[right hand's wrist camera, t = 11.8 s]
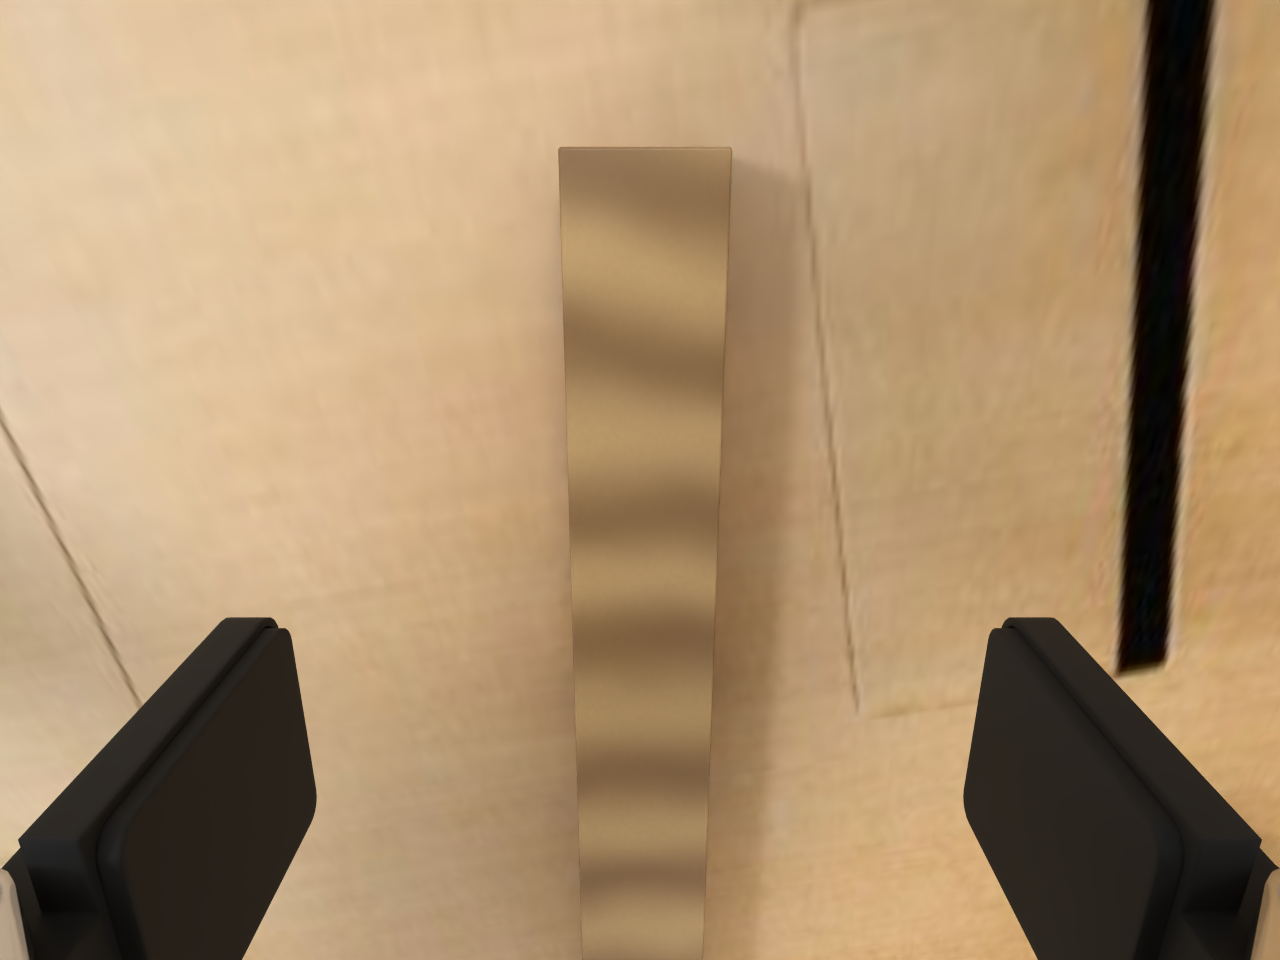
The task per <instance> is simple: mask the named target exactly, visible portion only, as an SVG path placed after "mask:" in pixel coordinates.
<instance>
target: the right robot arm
mask: <svg viewBox="0 0 1280 960" xmlns="http://www.w3.org/2000/svg"><path fill="white" fill-rule="evenodd" d="M316 798H317V795H316V786H315V780H314V774H313V768H312V761H311V755H310V749H309V743H308V737H307V731H306V725H305V718H304V712H303V706H302V700H301V694H300V688H299V681H298V675H297V669H296V663H295V657H294V651H293V645H292V639H291V635H290V633H289V631H288V630H287V629H285V628H278V625H277V624H276V622H275V620H274V619H272V618H225V619H224V620H223V621H221V622H220V623H219V624H218V626H217V627H216V628H215V629H214V630H213V631H212V632H211V633H210V634H209V635H208V636H207V637H206V638H205V639H204V641H203V642H202V643H201V644H200V645H199V646H198V647H197V648H196V649H195V650H194V651H193V652H192V653H191V655H190V656H189V657H188V658H187V659H186V660H185V661H184V662H183V663H182V664H181V665H180V666H179V667H178V668H177V670H176V671H175V672H174V673H173V674H172V675H171V676H170V677H169V678H168V679H167V680H166V681H165V682H164V684H163V685H162V686H161V687H160V688H159V689H158V690H157V691H156V692H155V693H154V694H153V695H152V696H151V697H150V699H149V700H148V701H147V702H146V703H145V704H144V705H143V706H142V707H141V708H140V709H139V710H138V711H137V713H136V714H135V715H134V716H133V717H132V718H131V719H130V720H129V721H128V722H127V723H126V724H125V725H124V726H123V728H122V729H121V730H120V731H119V732H118V733H117V734H116V735H115V736H114V737H113V738H112V739H111V740H110V742H109V743H108V744H107V745H106V746H105V747H104V748H103V749H102V750H101V751H100V752H99V753H98V754H97V755H96V757H95V758H94V759H93V760H92V761H91V762H90V763H89V764H88V765H87V766H86V767H85V768H84V769H83V771H82V772H81V773H80V774H79V775H78V776H77V777H76V778H75V779H74V780H73V781H72V782H71V783H70V784H69V786H68V787H67V788H66V789H65V790H64V791H63V792H62V793H61V794H60V795H59V796H58V797H57V798H56V799H55V801H54V802H53V803H52V804H51V805H50V806H49V807H48V808H47V809H46V810H45V811H44V812H43V813H42V815H41V816H40V817H39V818H38V819H37V820H36V821H35V822H34V823H33V824H32V825H31V826H30V827H29V828H28V830H27V831H26V832H25V833H24V834H23V835H22V836H21V837H20V838H19V839H18V841H19V844H20V847H21V848H20V849H19V850H18V851H17V852H16V853H15V854H14V855H13V856H12V858H11V859H10V860H9V861H8V862H7V863H6V864H5V865H4V866H3V867H2V868H0V960H242V959H243V957H244V955H245V953H246V951H247V949H248V947H249V945H250V943H251V941H252V939H253V937H254V935H255V933H256V931H257V929H258V927H259V925H260V923H261V921H262V919H263V917H264V915H265V913H266V911H267V909H268V907H269V905H270V903H271V901H272V899H273V897H274V895H275V893H276V891H277V889H278V887H279V885H280V883H281V881H282V879H283V877H284V875H285V874H286V872H287V870H288V868H289V866H290V864H291V862H292V860H293V858H294V856H295V854H296V852H297V850H298V848H299V846H300V844H301V842H302V840H303V838H304V836H305V834H306V832H307V830H308V828H309V826H310V824H311V822H312V819H313V817H314V813H315V808H316ZM963 798H964V808H965V813H966V817H967V819H968V822H969V824H970V826H971V828H972V830H973V832H974V834H975V836H976V838H977V840H978V842H979V844H980V846H981V848H982V850H983V852H984V854H985V856H986V858H987V860H988V862H989V864H990V866H991V868H992V870H993V872H994V874H995V875H996V877H997V879H998V881H999V883H1000V885H1001V887H1002V889H1003V891H1004V893H1005V895H1006V897H1007V899H1008V901H1009V903H1010V905H1011V907H1012V909H1013V911H1014V913H1015V915H1016V917H1017V919H1018V921H1019V923H1020V925H1021V927H1022V929H1023V931H1024V933H1025V935H1026V937H1027V939H1028V941H1029V943H1030V945H1031V947H1032V949H1033V951H1034V953H1035V955H1036V957H1037V959H1038V960H1280V868H1278V867H1277V866H1276V865H1275V864H1274V863H1273V862H1272V861H1271V860H1270V859H1269V858H1268V856H1267V855H1266V854H1265V853H1264V852H1263V851H1262V850H1261V849H1260V848H1259V847H1260V844H1261V841H1262V839H1261V838H1260V837H1259V836H1258V835H1257V834H1256V833H1255V832H1254V831H1253V830H1252V828H1251V827H1250V826H1249V825H1248V824H1247V823H1246V822H1245V821H1244V820H1243V819H1242V818H1241V817H1240V816H1239V815H1238V813H1237V812H1236V811H1235V810H1234V809H1233V808H1232V807H1231V806H1230V805H1229V804H1228V803H1227V802H1226V801H1225V800H1224V798H1223V797H1222V796H1221V795H1220V794H1219V793H1218V792H1217V791H1216V790H1215V789H1214V788H1213V787H1212V786H1211V784H1210V783H1209V782H1208V781H1207V780H1206V779H1205V778H1204V777H1203V776H1202V775H1201V774H1200V773H1199V772H1198V771H1197V769H1196V768H1195V767H1194V766H1193V765H1192V764H1191V763H1190V762H1189V761H1188V760H1187V759H1186V758H1185V757H1184V755H1183V754H1182V753H1181V752H1180V751H1179V750H1178V749H1177V748H1176V747H1175V746H1174V745H1173V744H1172V743H1171V742H1170V740H1169V739H1168V738H1167V737H1166V736H1165V735H1164V734H1163V733H1162V732H1161V731H1160V730H1159V729H1158V728H1157V726H1156V725H1155V724H1154V723H1153V722H1152V721H1151V720H1150V719H1149V718H1148V717H1147V716H1146V715H1145V714H1144V713H1143V711H1142V710H1141V709H1140V708H1139V707H1138V706H1137V705H1136V704H1135V703H1134V702H1133V701H1132V700H1131V699H1130V697H1129V696H1128V695H1127V694H1126V693H1125V692H1124V691H1123V690H1122V689H1121V688H1120V687H1119V686H1118V685H1117V684H1116V682H1115V681H1114V680H1113V679H1112V678H1111V677H1110V676H1109V675H1108V674H1107V673H1106V672H1105V671H1104V670H1103V668H1102V667H1101V666H1100V665H1099V664H1098V663H1097V662H1096V661H1095V660H1094V659H1093V658H1092V657H1091V656H1090V655H1089V653H1088V652H1087V651H1086V650H1085V649H1084V648H1083V647H1082V646H1081V645H1080V644H1079V643H1078V642H1077V641H1076V639H1075V638H1074V637H1073V636H1072V635H1071V634H1070V633H1069V632H1068V631H1067V630H1066V629H1065V628H1064V627H1063V626H1062V624H1061V623H1060V622H1059V621H1057V620H1056V619H1055V618H1008V619H1006V620H1005V622H1004V624H1003V625H1002V628H995V629H993V630H992V631H991V633H990V635H989V639H988V645H987V651H986V657H985V663H984V669H983V675H982V681H981V688H980V694H979V700H978V706H977V712H976V718H975V725H974V731H973V737H972V743H971V749H970V755H969V761H968V768H967V774H966V780H965V786H964V795H963Z"/></svg>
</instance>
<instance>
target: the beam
mask: <svg viewBox="0 0 1280 960" xmlns="http://www.w3.org/2000/svg"><path fill="white" fill-rule="evenodd" d="M558 155H559V188H560V222H561V256H562V289H563V323H564V356H565V390H566V424H567V457H568V491H569V525H570V558H571V592H572V625H573V659H574V693H575V726H576V760H577V793H578V827H579V861H580V894H581V928H582V960H703V941H704V913H705V885H706V858H707V830H708V802H709V775H710V747H711V719H712V692H713V664H714V637H715V609H716V581H717V554H718V526H719V498H720V471H721V443H722V416H723V388H724V360H725V333H726V305H727V277H728V250H729V222H730V194H731V167H732V149H731V148H730V147H560V148H559V150H558Z"/></svg>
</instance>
